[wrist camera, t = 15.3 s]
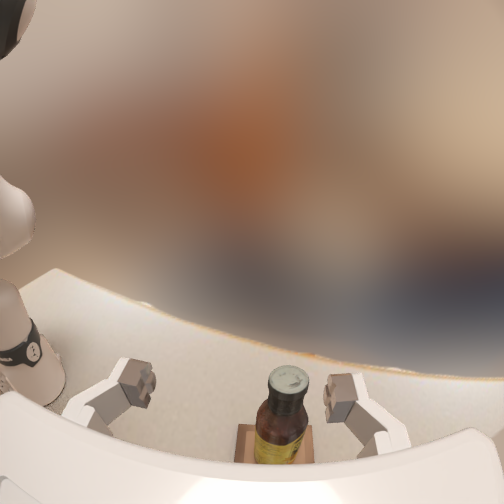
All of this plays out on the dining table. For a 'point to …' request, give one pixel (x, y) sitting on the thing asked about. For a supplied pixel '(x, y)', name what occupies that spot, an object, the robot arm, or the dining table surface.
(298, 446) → the sauce bottle
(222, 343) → the dining table surface
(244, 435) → the trivet
